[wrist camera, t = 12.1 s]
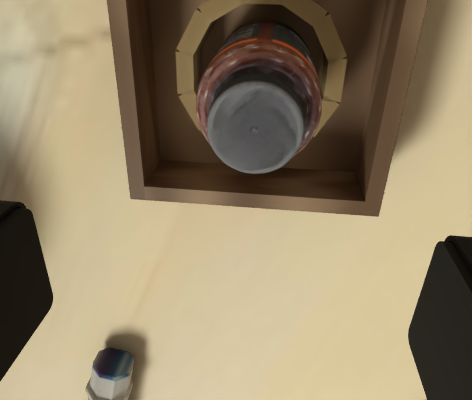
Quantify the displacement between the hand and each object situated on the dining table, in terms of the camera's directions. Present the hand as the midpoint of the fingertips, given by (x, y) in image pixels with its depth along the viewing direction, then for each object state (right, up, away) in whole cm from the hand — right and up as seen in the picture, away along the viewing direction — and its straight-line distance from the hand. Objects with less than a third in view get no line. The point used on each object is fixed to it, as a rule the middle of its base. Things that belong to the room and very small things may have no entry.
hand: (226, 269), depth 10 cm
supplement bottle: (+2, +10, +17) cm, 20 cm away
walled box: (+2, +11, +17) cm, 20 cm away
